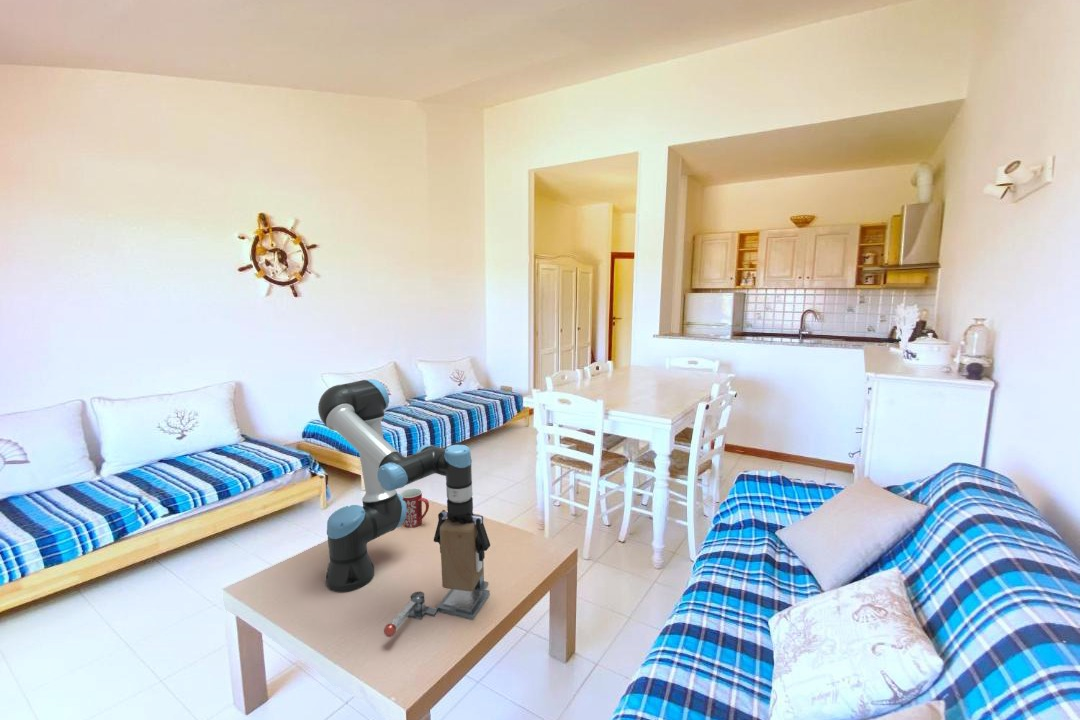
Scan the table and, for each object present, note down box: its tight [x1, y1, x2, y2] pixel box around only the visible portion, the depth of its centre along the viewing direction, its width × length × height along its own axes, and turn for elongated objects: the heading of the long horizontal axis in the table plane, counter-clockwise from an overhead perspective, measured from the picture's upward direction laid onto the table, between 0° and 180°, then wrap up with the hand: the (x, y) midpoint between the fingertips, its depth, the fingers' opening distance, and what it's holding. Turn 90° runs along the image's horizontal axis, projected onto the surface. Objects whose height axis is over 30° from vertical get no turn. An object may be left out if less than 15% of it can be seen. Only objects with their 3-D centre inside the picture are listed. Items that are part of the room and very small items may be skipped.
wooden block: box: [439, 513, 484, 591], centre depth 144 cm, size 10×10×20 cm
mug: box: [398, 487, 430, 529], centre depth 194 cm, size 13×9×14 cm
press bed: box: [407, 561, 491, 621], centre depth 147 cm, size 20×21×14 cm
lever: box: [383, 591, 425, 638], centre depth 136 cm, size 4×17×3 cm, turn 162°
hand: (462, 566), depth 145 cm, fingers closed on wooden block, 10 cm apart
